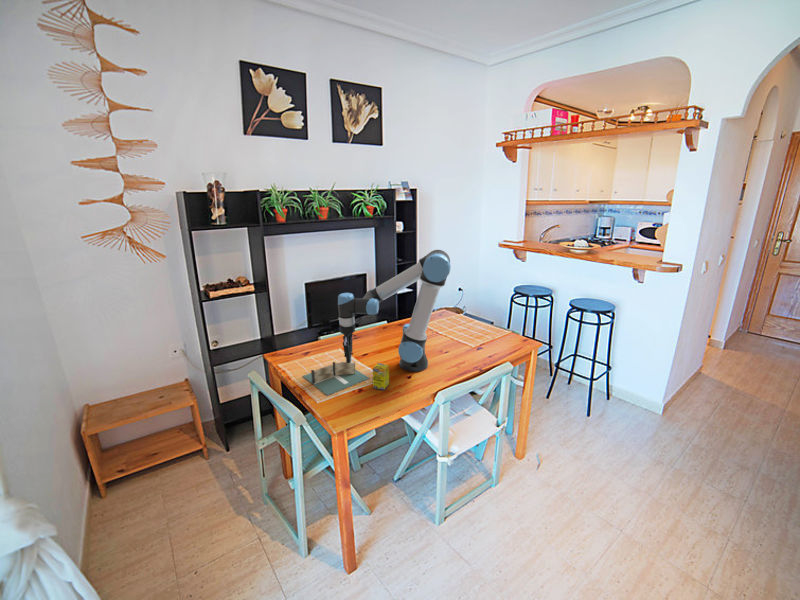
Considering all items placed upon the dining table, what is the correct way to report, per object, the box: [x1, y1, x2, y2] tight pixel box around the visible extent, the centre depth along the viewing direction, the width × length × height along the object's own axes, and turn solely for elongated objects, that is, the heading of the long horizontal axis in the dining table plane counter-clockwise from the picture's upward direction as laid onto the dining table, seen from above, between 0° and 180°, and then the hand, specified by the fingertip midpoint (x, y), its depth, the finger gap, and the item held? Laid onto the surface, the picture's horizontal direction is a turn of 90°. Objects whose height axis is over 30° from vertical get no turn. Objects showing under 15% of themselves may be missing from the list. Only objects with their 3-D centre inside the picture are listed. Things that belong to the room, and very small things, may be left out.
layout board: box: [302, 361, 370, 396], centre depth 188 cm, size 24×24×1 cm
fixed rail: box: [310, 364, 333, 385], centre depth 184 cm, size 11×2×7 cm, turn 131°
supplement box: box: [372, 362, 390, 392], centre depth 178 cm, size 6×6×11 cm
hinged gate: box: [332, 361, 356, 375], centre depth 189 cm, size 11×2×7 cm, turn 99°
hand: (349, 367), depth 191 cm, fingers closed
